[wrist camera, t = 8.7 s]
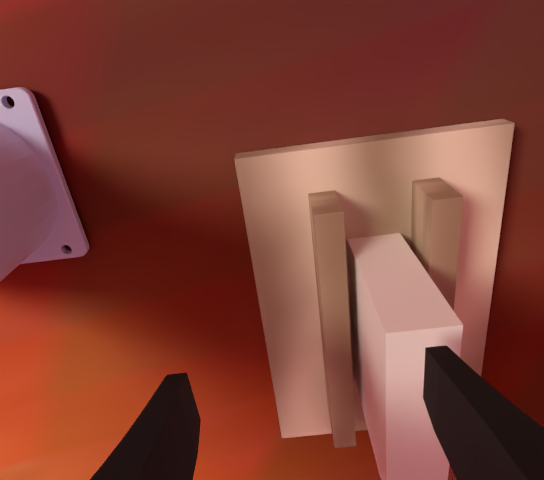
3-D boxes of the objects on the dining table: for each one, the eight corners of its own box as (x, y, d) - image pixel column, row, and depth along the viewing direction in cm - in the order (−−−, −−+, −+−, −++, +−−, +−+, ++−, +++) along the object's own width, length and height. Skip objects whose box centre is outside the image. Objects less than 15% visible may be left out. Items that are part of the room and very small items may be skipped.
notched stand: (281, 424, 27) (283, 476, 23) (235, 153, 19) (229, 176, 16) (468, 406, 26) (495, 456, 23) (502, 118, 18) (551, 135, 15)
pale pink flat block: (354, 378, 24) (386, 501, 17) (347, 238, 20) (385, 333, 13) (398, 373, 23) (447, 495, 17) (400, 232, 19) (464, 324, 13)
